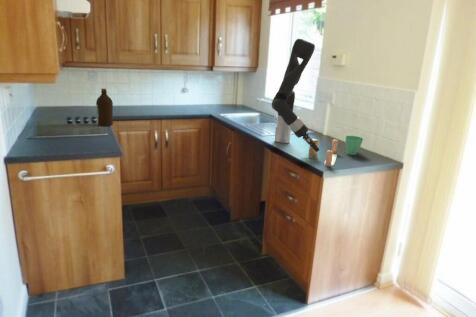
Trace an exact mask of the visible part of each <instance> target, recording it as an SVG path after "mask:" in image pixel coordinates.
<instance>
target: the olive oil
mask: <svg viewBox="0 0 476 317" xmlns="http://www.w3.org/2000/svg"><path fill="white" fill-rule="evenodd" d="M100 92H101V94H100V95H99V97H98V98H97V99H96V102H95V103H96V105H95V106H96V115H97V125H98V126H99V127H111V126H113V125H114V124H113V120H114V119H113V115H114V114H113V112H114V111H113V108H114V107H113V104H114V103H113V100H112V99H111V97H110V96H109V95H108V92H107V88H101V91H100Z"/></svg>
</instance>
